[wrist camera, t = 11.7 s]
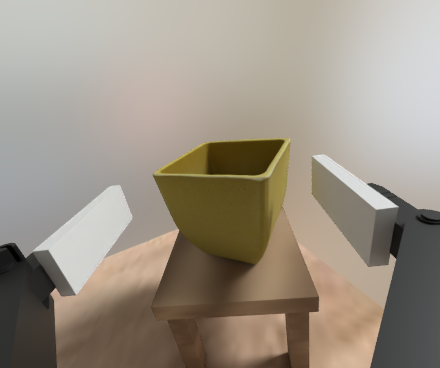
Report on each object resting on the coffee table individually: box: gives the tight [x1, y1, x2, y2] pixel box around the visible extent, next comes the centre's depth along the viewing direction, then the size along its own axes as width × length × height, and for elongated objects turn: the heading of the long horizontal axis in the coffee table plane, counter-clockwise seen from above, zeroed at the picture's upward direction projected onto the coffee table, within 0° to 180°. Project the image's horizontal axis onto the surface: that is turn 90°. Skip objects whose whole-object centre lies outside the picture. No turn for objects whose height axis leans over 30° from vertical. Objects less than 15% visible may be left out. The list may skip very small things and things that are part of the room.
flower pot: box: [153, 138, 290, 264], centre depth 19 cm, size 9×9×9 cm
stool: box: [151, 207, 319, 368], centre depth 23 cm, size 12×12×10 cm
